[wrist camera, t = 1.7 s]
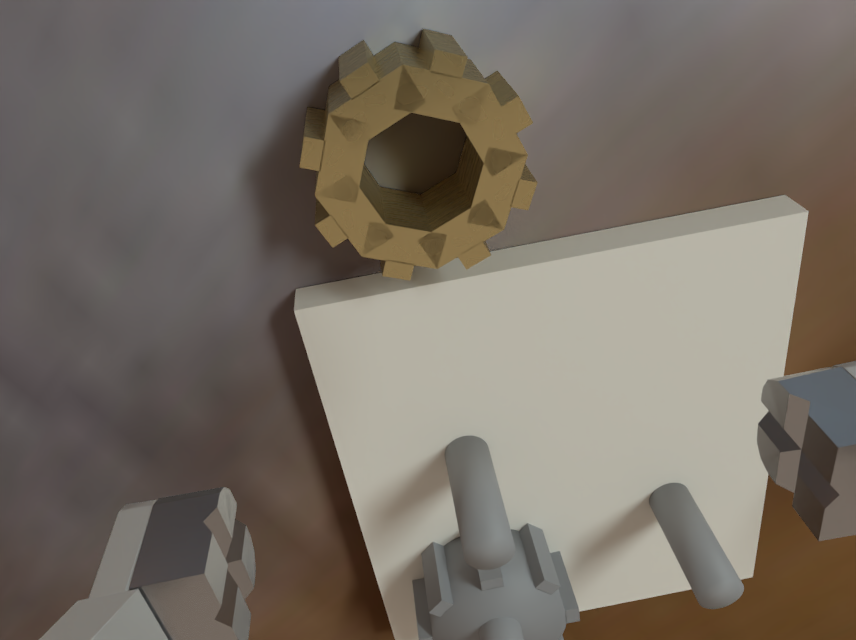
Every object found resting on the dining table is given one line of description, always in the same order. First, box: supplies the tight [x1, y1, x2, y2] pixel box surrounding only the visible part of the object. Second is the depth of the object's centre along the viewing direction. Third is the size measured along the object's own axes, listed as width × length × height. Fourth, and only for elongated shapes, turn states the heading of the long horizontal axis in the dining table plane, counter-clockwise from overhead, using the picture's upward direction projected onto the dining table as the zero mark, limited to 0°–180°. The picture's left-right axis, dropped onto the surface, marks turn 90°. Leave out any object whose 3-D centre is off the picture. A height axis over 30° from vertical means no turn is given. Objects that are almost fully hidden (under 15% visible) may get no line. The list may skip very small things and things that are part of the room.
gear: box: [299, 29, 537, 280], centre depth 22 cm, size 7×7×3 cm
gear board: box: [294, 195, 809, 640], centre depth 28 cm, size 20×18×7 cm
